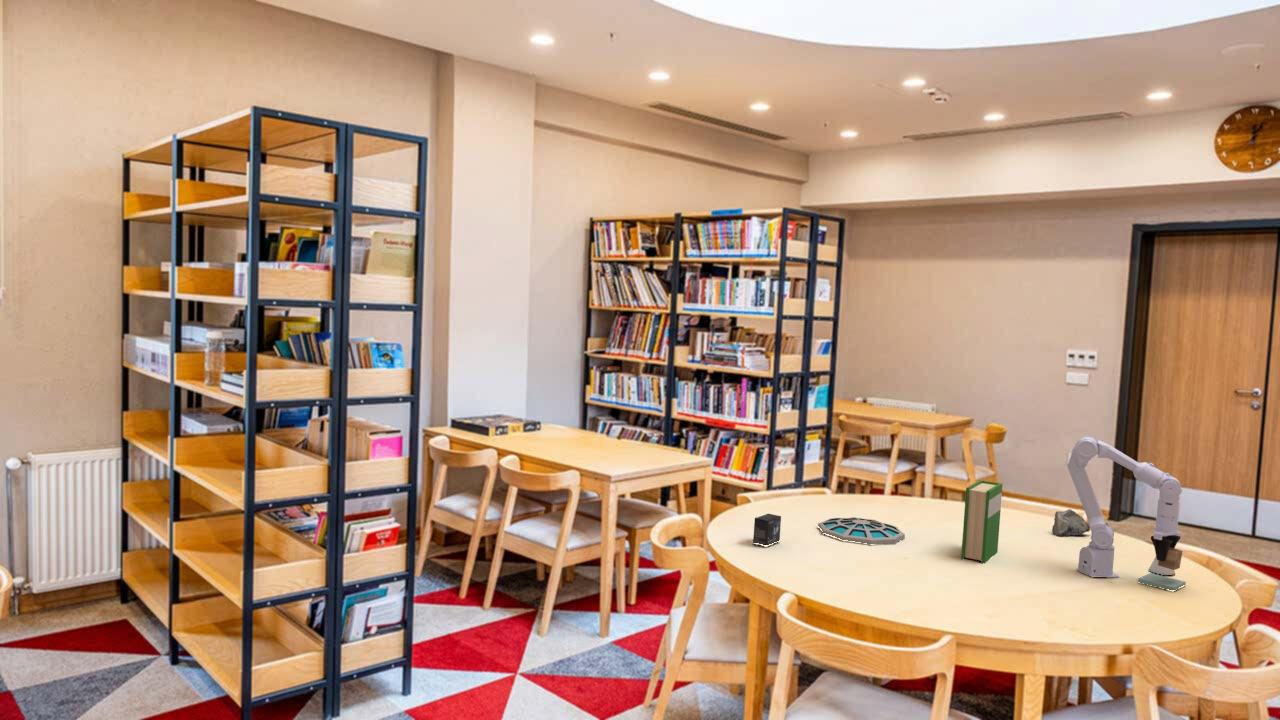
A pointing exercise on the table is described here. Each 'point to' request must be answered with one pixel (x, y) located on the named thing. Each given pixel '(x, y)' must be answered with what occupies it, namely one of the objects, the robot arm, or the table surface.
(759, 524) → the box
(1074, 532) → the mineral rock
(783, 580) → the table surface
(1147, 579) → the base board
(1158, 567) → the flask
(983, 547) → the hardback book
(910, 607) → the table surface
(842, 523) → the grey teal dome window
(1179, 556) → the walnut block
